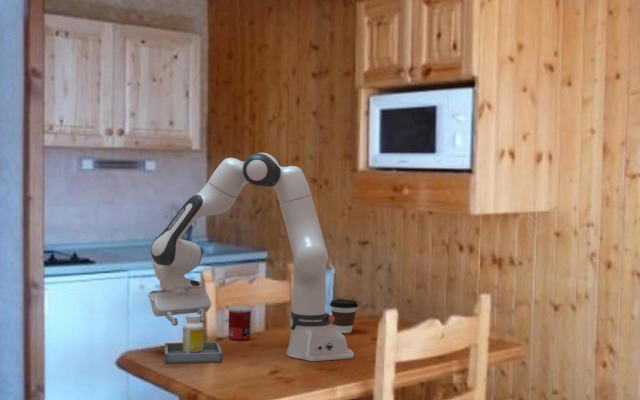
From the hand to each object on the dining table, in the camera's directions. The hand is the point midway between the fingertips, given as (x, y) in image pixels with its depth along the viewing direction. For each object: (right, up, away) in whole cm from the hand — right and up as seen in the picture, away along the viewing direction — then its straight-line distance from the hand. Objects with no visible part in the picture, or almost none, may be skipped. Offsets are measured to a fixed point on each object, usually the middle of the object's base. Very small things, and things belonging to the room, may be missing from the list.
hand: (188, 323), depth 243 cm
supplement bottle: (+2, -10, -2) cm, 10 cm away
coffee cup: (+52, -11, +44) cm, 69 cm away
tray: (+2, -11, -2) cm, 11 cm away
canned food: (+14, -10, +27) cm, 32 cm away
